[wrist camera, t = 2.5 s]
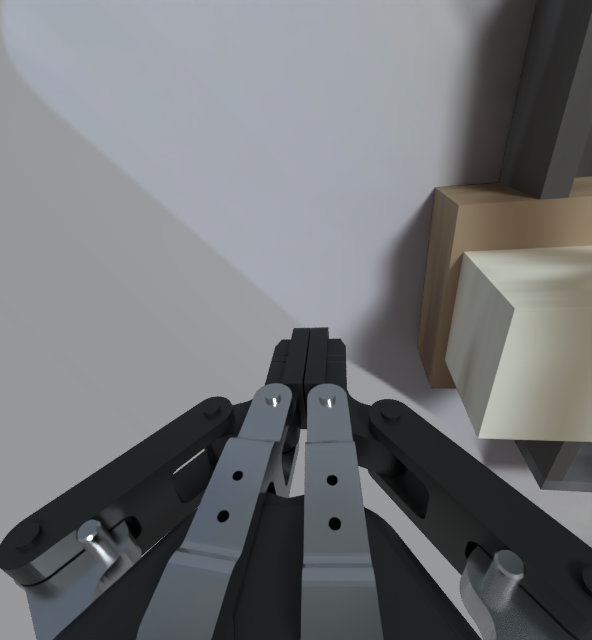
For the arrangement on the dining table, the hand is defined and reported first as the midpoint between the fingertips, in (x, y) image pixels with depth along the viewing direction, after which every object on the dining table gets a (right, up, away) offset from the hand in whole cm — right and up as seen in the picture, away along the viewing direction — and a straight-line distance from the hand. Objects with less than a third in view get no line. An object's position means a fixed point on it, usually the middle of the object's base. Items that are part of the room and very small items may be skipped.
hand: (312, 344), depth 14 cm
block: (+10, +2, +1) cm, 10 cm away
